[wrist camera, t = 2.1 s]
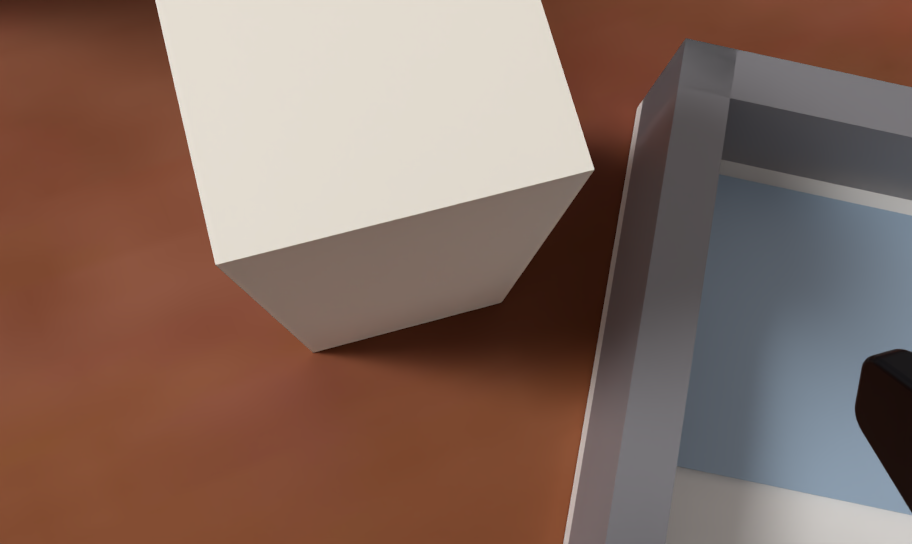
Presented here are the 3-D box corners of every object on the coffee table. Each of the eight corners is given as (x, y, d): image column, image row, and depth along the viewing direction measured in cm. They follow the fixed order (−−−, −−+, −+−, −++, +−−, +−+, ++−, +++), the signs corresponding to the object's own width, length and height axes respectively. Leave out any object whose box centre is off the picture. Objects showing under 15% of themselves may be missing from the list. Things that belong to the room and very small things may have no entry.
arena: (1020, 876, 20) (1177, 989, 16) (523, 776, 19) (554, 864, 15) (1058, 199, 23) (1195, 149, 19) (636, 108, 23) (685, 38, 19)
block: (501, 302, 22) (594, 169, 11) (313, 352, 21) (215, 264, 10) (450, 126, 23) (490, -158, 12) (268, 170, 22) (135, -86, 11)
